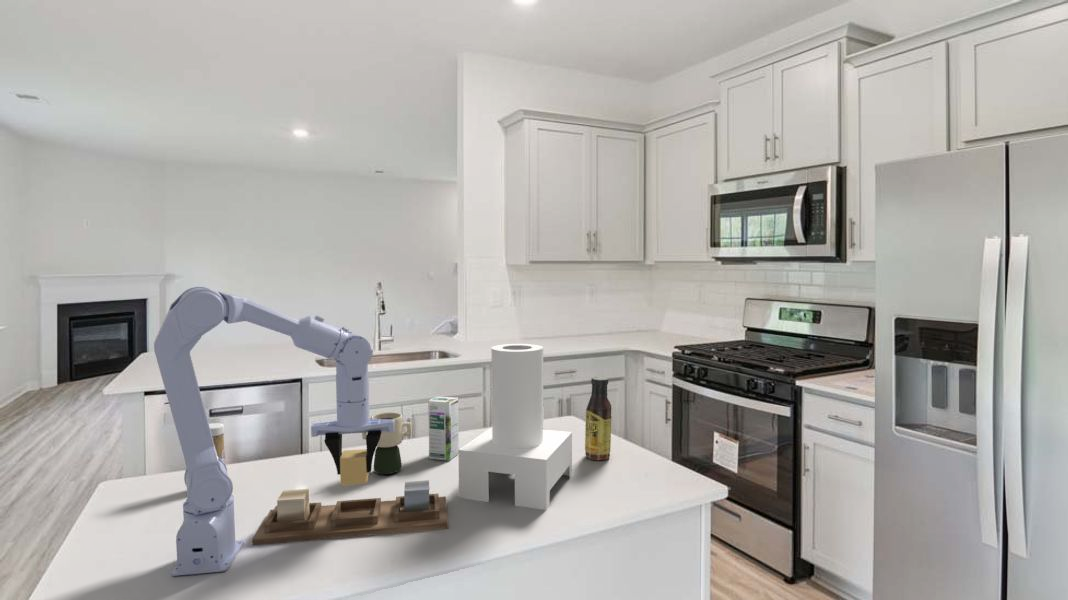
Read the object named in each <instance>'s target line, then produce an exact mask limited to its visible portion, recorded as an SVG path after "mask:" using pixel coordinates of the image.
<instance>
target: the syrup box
mask: <svg viewBox="0 0 1068 600" xmlns="http://www.w3.org/2000/svg"><path fill="white" fill-rule="evenodd" d="M427 402H428V406H427V407H428V410H427V411H428V412H427V413H428V415H427V416H428V417H427V418H428V459H429V460H438V461H439V460H440V461H448V462H450V461H452V460H453V459H454V458H455V457H457V456H459V454H458V450H459V449H460V448H459V447H460V446H459V445H460V444H459V443H460V442H459V441H460V440H459V439H460V437H459V435H460V434H459V432H460V431H459V429H460V428H459V397H451V396H450V397H448V396H435V397H432V398H431V399H429V400H428V401H427Z"/></svg>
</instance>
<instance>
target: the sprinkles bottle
mask: <svg viewBox="0 0 1068 600" xmlns="http://www.w3.org/2000/svg"><path fill="white" fill-rule="evenodd" d="M209 427H210V431H211V434H212V438H213V442H214V445H215V449H216V452H217V456H218V457H219V458H220V459H221V460H222V461H223V462H224V463H225V464H226V457H225V456H226V455H225V442H224V441H225V440H224V439H225V438H224V435H225V434H224V433H225V426H224V424H223V423H222V422H221V423H220V422H214V423H209Z"/></svg>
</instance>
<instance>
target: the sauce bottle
mask: <svg viewBox="0 0 1068 600" xmlns="http://www.w3.org/2000/svg"><path fill="white" fill-rule="evenodd" d="M590 383H591V395H590V399H589V401H588V403H587V406H586V409H585V433H584V434H585V435H584V436H585V438H584V452H585V457H586V458H587V459H589V460H591V461H592V460H593V461H595V462H596V461H604V460H608V459H609V458H610V456H611V455H610V454H611V445H612V444H611V442H612V404H611V402H610V400H609V397H608V384H609V378H608V377H606V376H599V375H597V376H596V375H595V376H592V377H591V382H590Z"/></svg>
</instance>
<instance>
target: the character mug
mask: <svg viewBox="0 0 1068 600" xmlns="http://www.w3.org/2000/svg"><path fill="white" fill-rule="evenodd" d="M370 419H394V432H388V431H386V432H382V433H381V437H380V440H379V442H378V444H377V447H376V449H375V452H374V457H373V458H374V459H373V471H374V472H375V473H377V474H381V475H388V474H390V475H391V474H394V473H397V472H398V471H400V470H401V469H402V468H403V467H402V464H403V463H402V457H401V453H400V452H401V451H400V447H399V445H400V444H402V442H403V439H404V437H410V436H412V422H411V421H410V422H409V421H405V422H404V420H403V414H402V413H401V412H396V411H395V412H393V411H391V412H390V411H389V412H380V413H375V414H373V415H371V417H370ZM404 427H406V431H404ZM366 436H367V433H361V438H362V440H365V441H366Z"/></svg>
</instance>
